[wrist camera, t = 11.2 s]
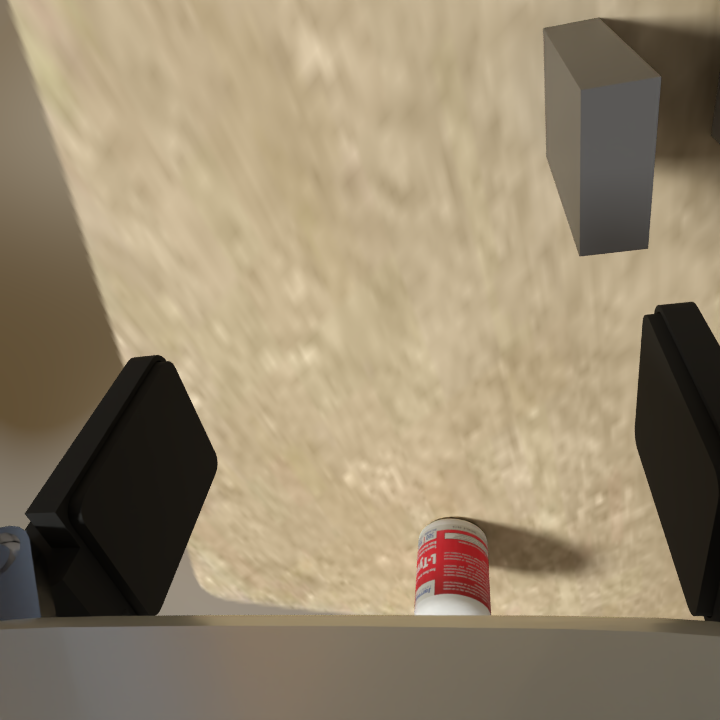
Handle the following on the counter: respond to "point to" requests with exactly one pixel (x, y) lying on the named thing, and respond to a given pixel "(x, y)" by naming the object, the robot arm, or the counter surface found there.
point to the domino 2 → (716, 116)
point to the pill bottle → (452, 570)
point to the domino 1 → (601, 134)
